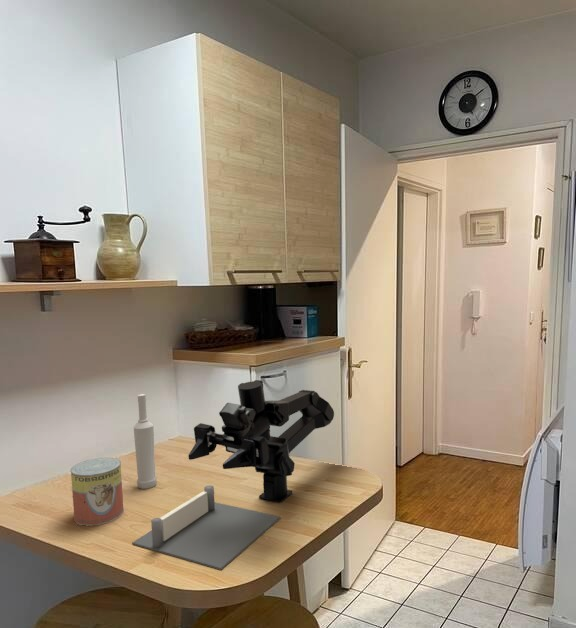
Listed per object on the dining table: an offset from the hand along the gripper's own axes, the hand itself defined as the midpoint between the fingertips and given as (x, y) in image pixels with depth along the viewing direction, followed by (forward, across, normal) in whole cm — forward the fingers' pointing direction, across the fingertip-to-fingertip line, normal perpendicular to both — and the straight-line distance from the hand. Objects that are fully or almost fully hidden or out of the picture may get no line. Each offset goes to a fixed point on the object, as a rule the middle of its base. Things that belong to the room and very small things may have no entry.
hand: (205, 462), depth 106 cm
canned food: (+5, -32, +19) cm, 37 cm away
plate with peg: (-1, -2, +18) cm, 18 cm away
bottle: (-13, -34, +22) cm, 43 cm away
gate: (-1, -8, +17) cm, 19 cm away
